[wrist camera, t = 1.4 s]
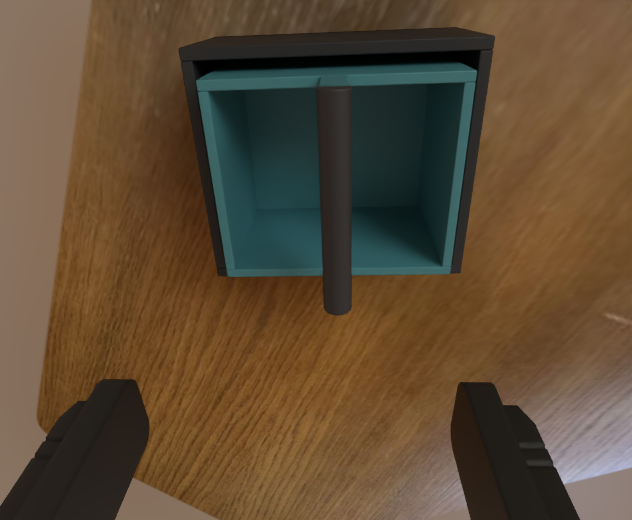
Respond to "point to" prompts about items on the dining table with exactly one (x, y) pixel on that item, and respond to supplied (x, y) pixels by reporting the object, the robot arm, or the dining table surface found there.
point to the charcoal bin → (448, 41)
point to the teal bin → (338, 164)
